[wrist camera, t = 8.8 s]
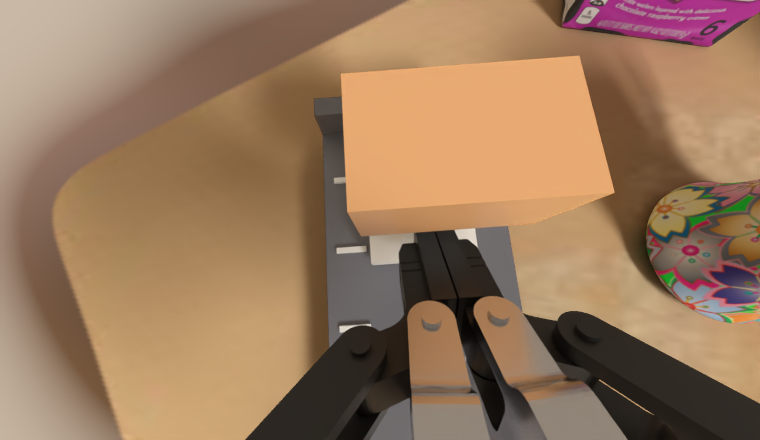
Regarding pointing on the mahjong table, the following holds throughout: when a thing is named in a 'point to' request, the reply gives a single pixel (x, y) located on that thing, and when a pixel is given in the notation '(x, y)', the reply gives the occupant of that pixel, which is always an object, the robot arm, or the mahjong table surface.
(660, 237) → the mug
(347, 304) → the fader console
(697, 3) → the candy bar box
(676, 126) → the mahjong table surface
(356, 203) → the fader knob
